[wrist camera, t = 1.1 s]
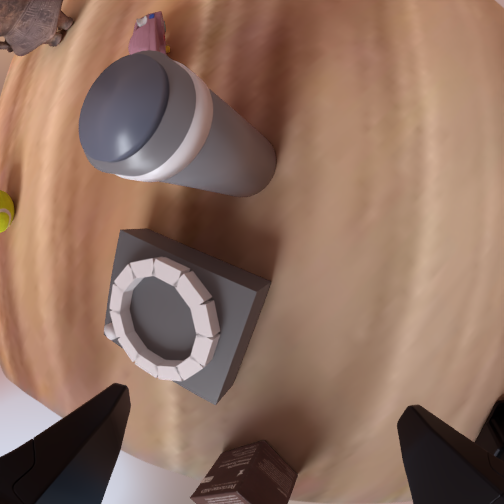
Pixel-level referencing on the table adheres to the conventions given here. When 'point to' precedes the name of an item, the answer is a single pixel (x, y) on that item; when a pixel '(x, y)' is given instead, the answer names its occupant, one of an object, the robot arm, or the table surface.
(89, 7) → the table surface
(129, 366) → the table surface
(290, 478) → the box
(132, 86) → the grey travel tumbler
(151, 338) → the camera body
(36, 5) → the clay figurine
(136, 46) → the video game controller
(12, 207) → the tennis ball
